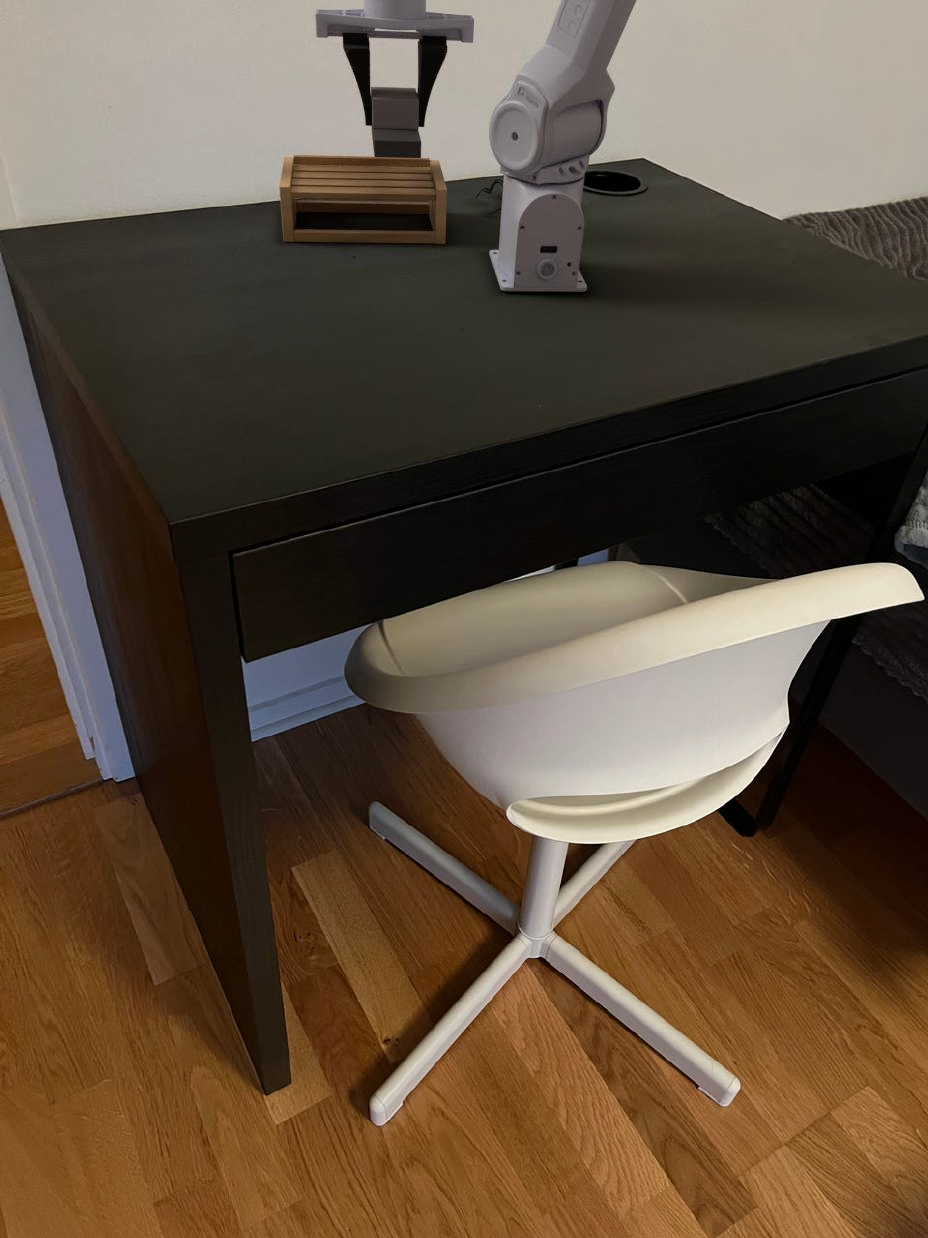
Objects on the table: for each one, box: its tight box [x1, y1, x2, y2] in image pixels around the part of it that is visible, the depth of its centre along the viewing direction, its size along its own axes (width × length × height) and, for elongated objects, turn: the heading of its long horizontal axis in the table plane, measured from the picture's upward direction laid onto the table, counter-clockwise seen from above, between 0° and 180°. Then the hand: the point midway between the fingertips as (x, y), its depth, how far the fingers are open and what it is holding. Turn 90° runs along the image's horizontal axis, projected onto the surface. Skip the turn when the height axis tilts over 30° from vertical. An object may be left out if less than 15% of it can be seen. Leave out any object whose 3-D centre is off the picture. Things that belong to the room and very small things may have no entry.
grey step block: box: [370, 86, 422, 158], centre depth 91 cm, size 9×4×4 cm, turn 6°
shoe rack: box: [278, 154, 448, 245], centre depth 96 cm, size 10×16×5 cm, turn 96°
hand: (395, 123), depth 93 cm, fingers closed on grey step block, 4 cm apart
